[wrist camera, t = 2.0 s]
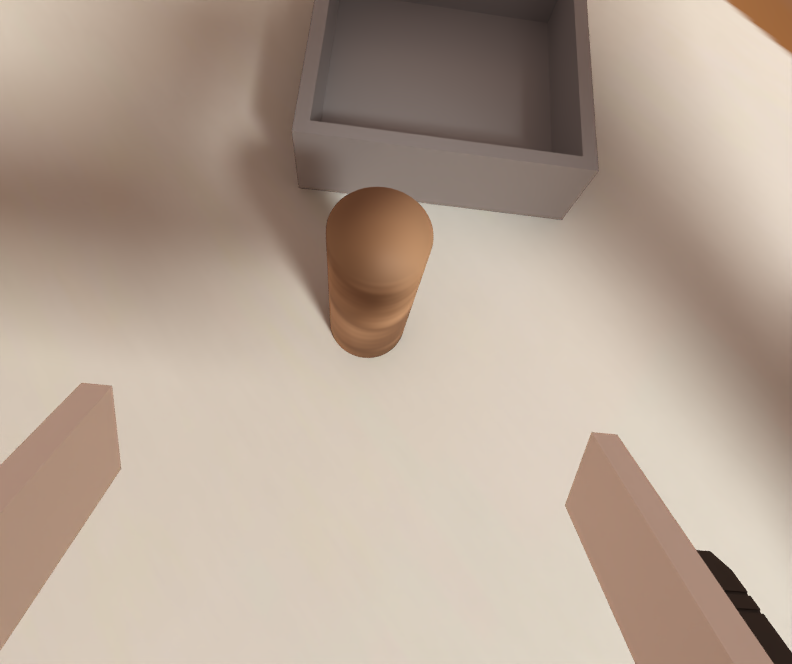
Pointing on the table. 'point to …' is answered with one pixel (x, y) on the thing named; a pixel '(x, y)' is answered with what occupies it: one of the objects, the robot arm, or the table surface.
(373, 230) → the walnut cylinder
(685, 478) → the table surface
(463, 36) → the tote
